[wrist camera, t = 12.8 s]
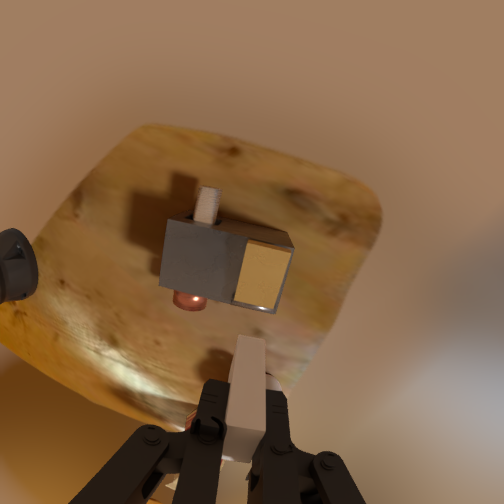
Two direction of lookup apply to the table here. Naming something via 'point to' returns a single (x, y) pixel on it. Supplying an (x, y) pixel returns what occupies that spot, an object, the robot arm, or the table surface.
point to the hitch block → (211, 255)
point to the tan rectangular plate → (261, 276)
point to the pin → (207, 214)
